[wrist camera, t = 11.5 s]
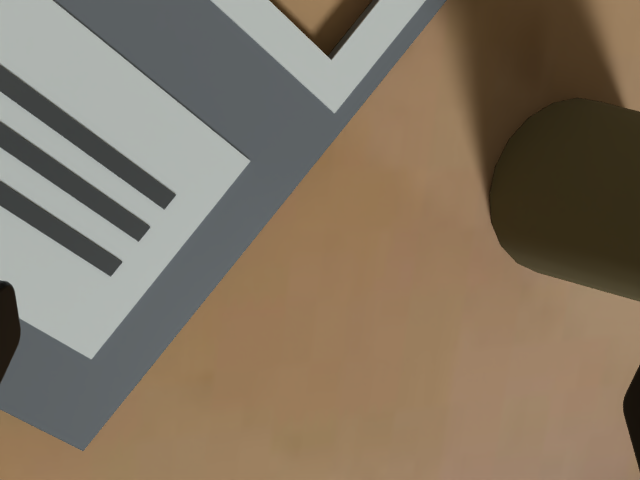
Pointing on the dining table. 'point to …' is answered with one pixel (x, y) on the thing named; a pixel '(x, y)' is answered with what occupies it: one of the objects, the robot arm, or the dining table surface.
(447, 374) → the dining table surface
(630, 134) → the olive game pawn
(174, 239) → the label plate
